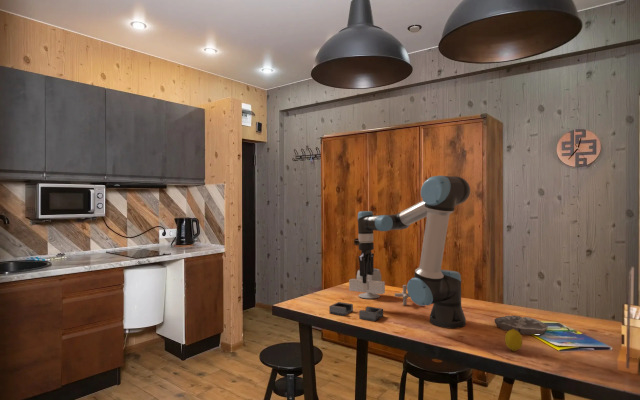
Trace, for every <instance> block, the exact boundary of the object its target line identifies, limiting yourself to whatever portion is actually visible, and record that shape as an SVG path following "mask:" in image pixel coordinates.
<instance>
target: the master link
mask: <svg viewBox="0 0 640 400" xmlns="http://www.w3.org/2000/svg"><path fill="white" fill-rule="evenodd" d="M385 286H386V281H382V280H381V281H373V280H368V290H363V283H362V279H357V278H351V279H349V280H348V287H349V288H348V291H349V292H358V293H359V292H360V293H376V294H379V295H383V294H385V293H386V287H385Z"/></svg>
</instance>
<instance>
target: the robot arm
mask: <svg viewBox="0 0 640 400" xmlns="http://www.w3.org/2000/svg"><path fill="white" fill-rule="evenodd" d="M470 195H471V187H470V184H469V183H468V180H466V179H465V178H463V177H461V176H451V175H450V176H449V175H434V176H430V177H428V178H427V179H426V180H425V181H424V182H423V183H422V186H421V188H420V197H421V198H422V200H421V201H419V202H417V203H415V204H414V205H411V206H409V207H408V208H406V209H403V210H401V211H400V212H397V213H396V214H381V215H380V214H378V215H377V214H373V213H374V212H373V211H372V210H370V211H369V210H367V211H366V210H362V211H358V213H357V228H358V229H357V233H358V234H357V237H358V250H359V251H360V252H361V253H360V255H358V263H359V264H358V265H359V267H358V268H359V269H360V276H362V283H363V290H368V280H372V275H373V272H374V268H375V267H374V263H375V262H374V257H375V254H374V253H372V251H373V250H374V247H375V245H374V244H375V243H374V240H375V239H374V231H377V232H389V231H393V230H405V229H408V228H409V227H410V225H411V224H412V225H413V224H414V223H417V222H418V221H420V220H423V219H425V218H426V220H425V227H424V234H423V240H422V249H421V254H420V259H419V260H420V261H419V265H418V267H417V268H416V269H415V270H414V275H413V277H411V279H409V280H408V282H407V284H406V292H407V293H408V295H409V296H410V297H409V298H410V300H411V301H412V302H413V303H414V304H415V305H417V306H420V307H424V306H430V305H432V308H431V311H430V314H429V323H431V324H432V326H433V325H434V326H436V327H440V328H447V329H458V328H463V327H465V326H466V325H467V324H466V322H467V319H466V315H465V313H464V310H463V307H462V276H461V273H460V272H459V271H456V270H449V269H442V264H443V259H444V258H443V257H444V251H445V245H446V238H447V233H448V232H447V231H448V225H449V220H450V215H452V214H453V213H454V212H455V207H456V206H458V205H461V204H463V203H465V202H466V201H467V200H468V199H469V198H470ZM367 274H368V275H367Z"/></svg>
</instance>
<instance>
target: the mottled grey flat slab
mask: <svg viewBox="0 0 640 400" xmlns="http://www.w3.org/2000/svg"><path fill="white" fill-rule="evenodd" d="M494 324H495V325H496V326H497V328H499V329H500V330H502V331H506V330H507V331H509V330H512V329H515V330H516V331H518V332H519V333H520V334H521V335H524V336H526V335H527V336H532V335H531V334H542V335H544V333H545V332H547V329H548V327H549V325H548V324H546V323H544V322H542V321H541V320H538V319H536V318H532V317H529V316H523V317H522V316H519V315H505V316H499V317H495V319H494ZM507 331H506V332H507Z"/></svg>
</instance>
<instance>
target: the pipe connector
mask: <svg viewBox="0 0 640 400" xmlns="http://www.w3.org/2000/svg"><path fill="white" fill-rule="evenodd" d="M394 297H395V298H399V297H401V298H402V305H403V306H407V305H408V303H407V301H408V298H410V296H409V295H408V292H407V284H403V285H402V291H401V293H400V292H398V293H397V292H395V293H394Z"/></svg>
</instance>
